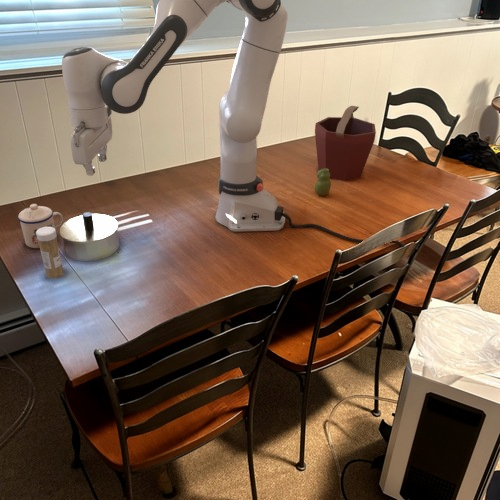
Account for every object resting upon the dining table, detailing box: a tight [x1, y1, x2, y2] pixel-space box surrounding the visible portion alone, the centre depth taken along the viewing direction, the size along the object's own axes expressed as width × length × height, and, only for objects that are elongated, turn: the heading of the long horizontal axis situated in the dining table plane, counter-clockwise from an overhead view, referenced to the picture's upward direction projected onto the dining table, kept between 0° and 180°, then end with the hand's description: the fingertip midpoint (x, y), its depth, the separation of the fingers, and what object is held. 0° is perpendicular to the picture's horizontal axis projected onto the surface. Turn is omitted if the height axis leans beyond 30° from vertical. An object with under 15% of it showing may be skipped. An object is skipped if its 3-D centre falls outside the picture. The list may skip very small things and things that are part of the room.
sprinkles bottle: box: [36, 227, 65, 279], centre depth 124 cm, size 5×5×13 cm
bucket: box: [314, 105, 377, 182], centre depth 185 cm, size 24×22×25 cm
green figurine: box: [314, 168, 332, 197], centre depth 171 cm, size 6×5×10 cm
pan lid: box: [59, 211, 119, 243], centre depth 135 cm, size 16×16×5 cm
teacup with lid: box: [17, 203, 64, 249], centre depth 139 cm, size 12×9×12 cm
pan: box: [62, 229, 121, 262], centre depth 137 cm, size 15×15×6 cm
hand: (97, 167), depth 131 cm, fingers open, 8 cm apart
